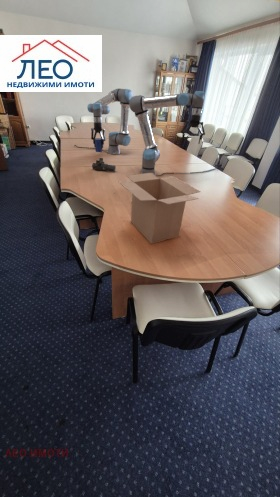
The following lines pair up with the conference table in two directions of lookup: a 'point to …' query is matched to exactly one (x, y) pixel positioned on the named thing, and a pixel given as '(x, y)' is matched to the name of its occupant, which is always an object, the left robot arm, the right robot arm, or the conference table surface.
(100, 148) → the canister
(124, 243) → the conference table surface
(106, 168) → the laser sight
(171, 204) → the box
